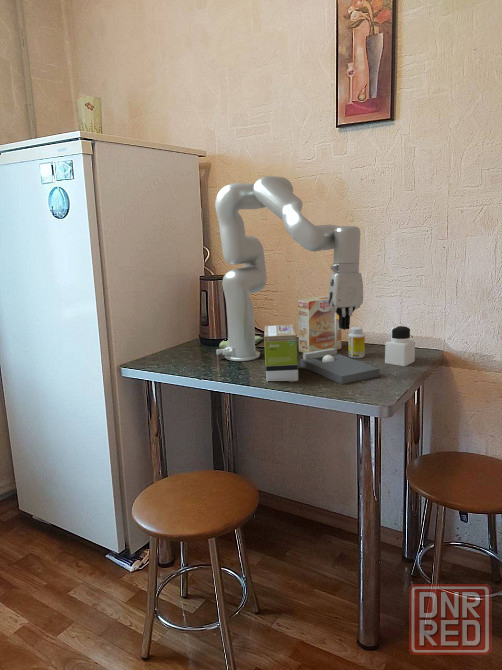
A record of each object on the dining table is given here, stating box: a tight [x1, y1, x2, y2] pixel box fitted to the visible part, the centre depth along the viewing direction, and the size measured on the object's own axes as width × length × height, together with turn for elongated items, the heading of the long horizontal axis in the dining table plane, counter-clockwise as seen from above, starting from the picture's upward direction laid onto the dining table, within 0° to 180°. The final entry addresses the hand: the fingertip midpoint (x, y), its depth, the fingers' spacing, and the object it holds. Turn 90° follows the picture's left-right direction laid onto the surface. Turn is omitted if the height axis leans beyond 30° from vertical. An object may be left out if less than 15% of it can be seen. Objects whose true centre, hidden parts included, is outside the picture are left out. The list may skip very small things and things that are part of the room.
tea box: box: [263, 324, 299, 383], centre depth 164 cm, size 15×10×15 cm
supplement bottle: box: [347, 326, 366, 359], centre depth 182 cm, size 6×6×10 cm
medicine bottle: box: [384, 325, 416, 367], centre depth 172 cm, size 7×7×12 cm
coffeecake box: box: [297, 295, 342, 354], centre depth 192 cm, size 15×7×20 cm, turn 120°
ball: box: [322, 355, 334, 363], centre depth 172 cm, size 4×4×4 cm
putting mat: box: [300, 313, 381, 385], centre depth 165 cm, size 14×23×16 cm, turn 26°
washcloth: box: [218, 335, 264, 349], centre depth 208 cm, size 13×18×3 cm
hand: (344, 328), depth 161 cm, fingers closed
